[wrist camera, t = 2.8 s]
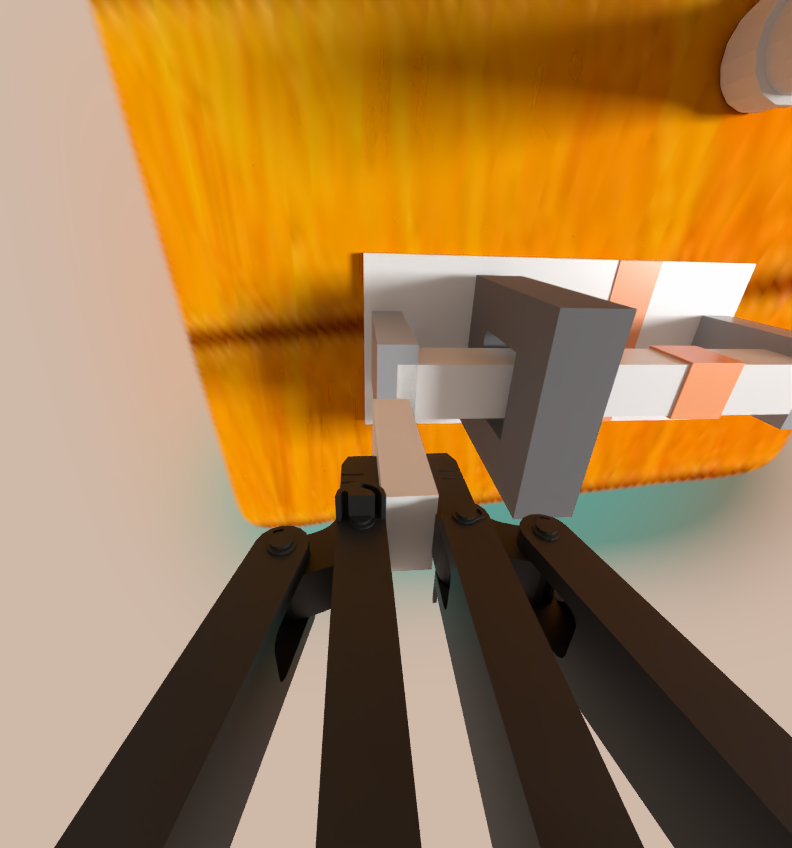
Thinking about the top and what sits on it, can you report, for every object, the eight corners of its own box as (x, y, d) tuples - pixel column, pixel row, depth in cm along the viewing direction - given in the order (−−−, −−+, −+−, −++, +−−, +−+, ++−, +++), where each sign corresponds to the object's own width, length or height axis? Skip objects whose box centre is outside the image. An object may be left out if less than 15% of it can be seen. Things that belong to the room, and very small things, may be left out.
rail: (363, 252, 24) (366, 264, 16) (745, 263, 27) (914, 278, 19) (364, 419, 30) (367, 491, 22) (681, 415, 32) (790, 478, 24)
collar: (476, 275, 24) (560, 307, 14) (522, 275, 24) (637, 308, 14) (459, 418, 28) (513, 519, 18) (498, 417, 28) (571, 516, 19)
